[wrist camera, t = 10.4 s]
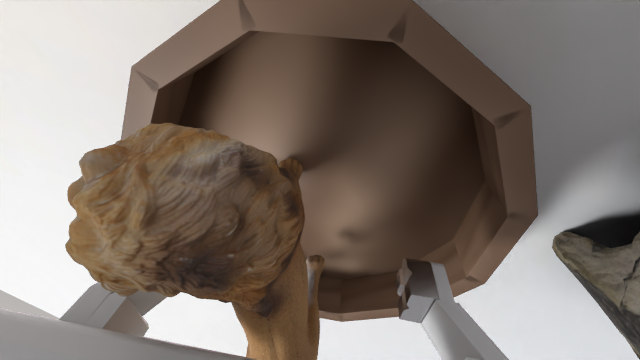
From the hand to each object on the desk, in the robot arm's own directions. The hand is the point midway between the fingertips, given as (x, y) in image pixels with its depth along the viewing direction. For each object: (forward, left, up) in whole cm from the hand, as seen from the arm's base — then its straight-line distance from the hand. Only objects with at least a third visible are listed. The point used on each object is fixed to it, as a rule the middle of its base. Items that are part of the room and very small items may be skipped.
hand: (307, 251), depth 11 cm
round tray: (0, 0, -5) cm, 5 cm away
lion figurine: (+3, +2, -3) cm, 4 cm away
